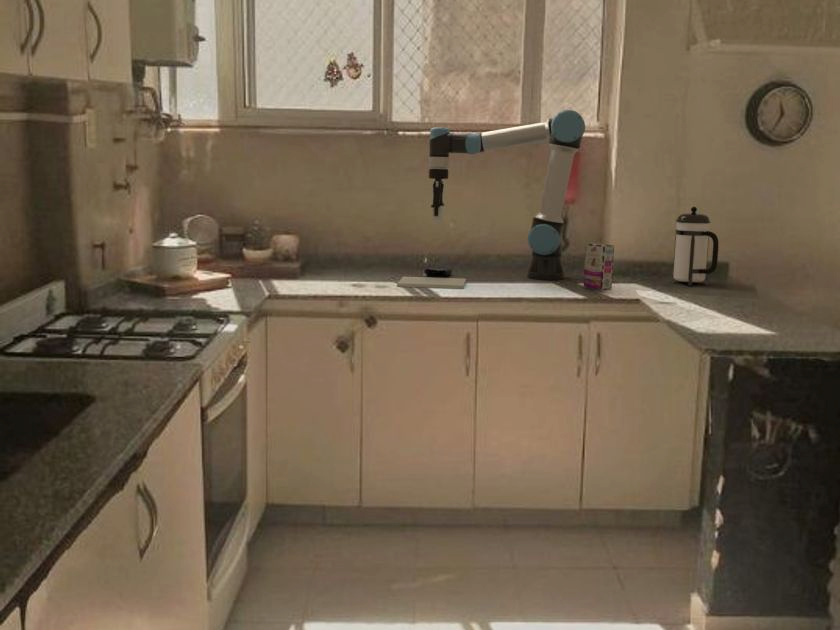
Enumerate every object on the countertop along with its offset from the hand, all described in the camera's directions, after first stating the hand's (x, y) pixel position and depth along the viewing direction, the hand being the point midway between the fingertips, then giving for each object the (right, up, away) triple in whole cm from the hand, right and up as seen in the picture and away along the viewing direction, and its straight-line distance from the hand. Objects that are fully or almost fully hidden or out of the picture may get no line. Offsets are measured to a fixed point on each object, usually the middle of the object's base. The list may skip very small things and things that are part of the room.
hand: (437, 223), depth 356 cm
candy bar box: (+59, -26, -17) cm, 67 cm away
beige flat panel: (-2, -24, -16) cm, 29 cm away
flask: (0, -22, +3) cm, 22 cm away
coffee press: (+99, -24, 0) cm, 102 cm away
